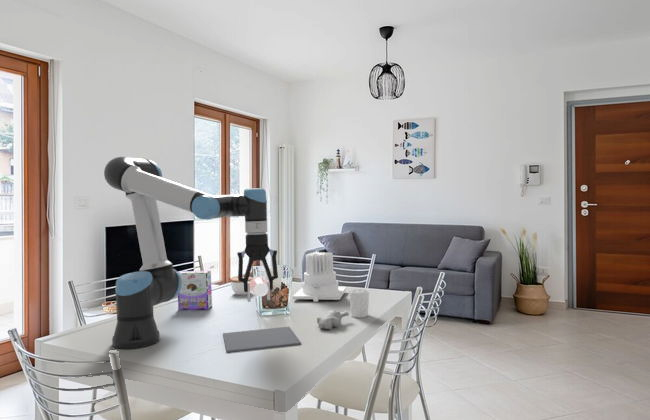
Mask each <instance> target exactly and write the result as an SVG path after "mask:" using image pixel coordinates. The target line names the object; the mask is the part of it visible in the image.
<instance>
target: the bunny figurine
mask: <svg viewBox="0 0 650 420" xmlns="http://www.w3.org/2000/svg"><path fill="white" fill-rule="evenodd" d="M349 316H350V314H349V311H346V310H345V311H343V312H340V311H336V310H335V309H332V310H327V311H326V312H325V314H324V315H321V316H318V317H317V318H316V322H317V325H318V328H319V329H320V330H321V329H323V330H333V328H335V327H341V326H342V318H345V317H349Z"/></svg>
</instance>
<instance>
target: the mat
mask: <svg viewBox="0 0 650 420" xmlns="http://www.w3.org/2000/svg"><path fill="white" fill-rule="evenodd" d="M222 337H223V342H224V346H225V351H226V353H227V354H228V353H236V352H244V351H245V352H246V351H252V350H263V349H272V348H273V349H274V348H279V347H281V348H282V347H290V346H291V347H292V346H298V345H302V342H301V340H300V339H299V338H298V336H297V335H296V334H295V332H294V331H293V330H292V329H291V327H290V326H283V327H273V328H263V329H262V328H261V329H254V330H253V329H252V330H243V331H232V332H231V331H230V332H223V333H222Z"/></svg>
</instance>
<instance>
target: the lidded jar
mask: <svg viewBox="0 0 650 420" xmlns="http://www.w3.org/2000/svg"><path fill="white" fill-rule="evenodd" d="M242 278H244V276H242ZM252 278H253V277H252V276H249V278H248V282H250V280H251V279H252ZM230 287H231V290H232V291H233V293H234V294H235V295H238V296H245V295H247V292H245V291H244V283H243V282H241V281H239V280H238V276H235V277H232V278H230ZM244 294H245V295H244Z"/></svg>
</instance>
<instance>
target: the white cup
mask: <svg viewBox="0 0 650 420" xmlns="http://www.w3.org/2000/svg"><path fill="white" fill-rule="evenodd" d="M369 300H370V291H369V290H368V289H365V288H355V289H350V290H349V306H350V315H351V317H352V318H360V319H361V318H367V317H368V316H369V305H370V304H369V303H370V302H369Z"/></svg>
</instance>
